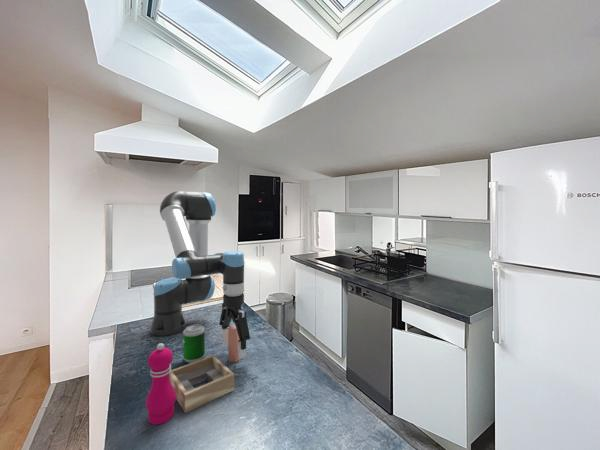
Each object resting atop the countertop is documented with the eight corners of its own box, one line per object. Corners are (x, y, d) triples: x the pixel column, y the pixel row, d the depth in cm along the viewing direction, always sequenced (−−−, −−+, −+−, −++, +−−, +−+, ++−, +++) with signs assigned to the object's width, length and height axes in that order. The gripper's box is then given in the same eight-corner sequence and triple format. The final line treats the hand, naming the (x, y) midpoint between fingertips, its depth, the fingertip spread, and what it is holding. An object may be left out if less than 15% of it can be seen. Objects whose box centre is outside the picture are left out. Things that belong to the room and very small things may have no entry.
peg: (226, 359, 103) (226, 327, 102) (235, 355, 106) (235, 324, 105) (231, 363, 100) (231, 331, 100) (241, 359, 103) (241, 328, 102)
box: (168, 386, 86) (167, 371, 86) (213, 368, 96) (213, 355, 96) (185, 412, 75) (185, 395, 75) (234, 389, 85) (234, 374, 85)
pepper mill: (153, 407, 77) (152, 337, 77) (179, 405, 78) (179, 337, 77) (140, 427, 70) (139, 350, 69) (170, 425, 71) (169, 349, 70)
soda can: (209, 355, 105) (208, 325, 105) (195, 366, 98) (195, 333, 98) (193, 352, 108) (192, 322, 107) (178, 362, 101) (178, 330, 100)
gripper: (210, 288, 108) (210, 342, 109) (241, 303, 90) (241, 368, 91) (227, 285, 113) (227, 337, 114) (260, 299, 95) (260, 360, 96)
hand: (233, 350), depth 103 cm, fingers open, 11 cm apart
